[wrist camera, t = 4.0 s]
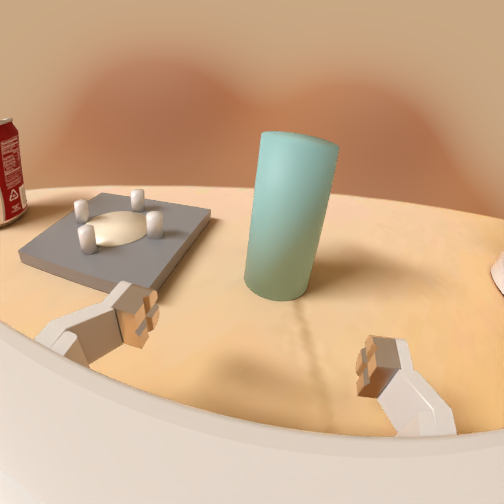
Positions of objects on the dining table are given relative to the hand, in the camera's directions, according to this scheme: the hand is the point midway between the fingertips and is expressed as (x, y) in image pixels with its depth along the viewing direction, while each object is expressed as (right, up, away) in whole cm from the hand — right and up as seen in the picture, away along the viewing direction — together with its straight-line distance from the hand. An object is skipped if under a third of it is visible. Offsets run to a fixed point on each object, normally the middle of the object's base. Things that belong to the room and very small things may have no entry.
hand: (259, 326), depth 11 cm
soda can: (-31, +7, +17) cm, 35 cm away
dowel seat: (-13, +4, +15) cm, 20 cm away
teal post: (+2, +1, +13) cm, 13 cm away
